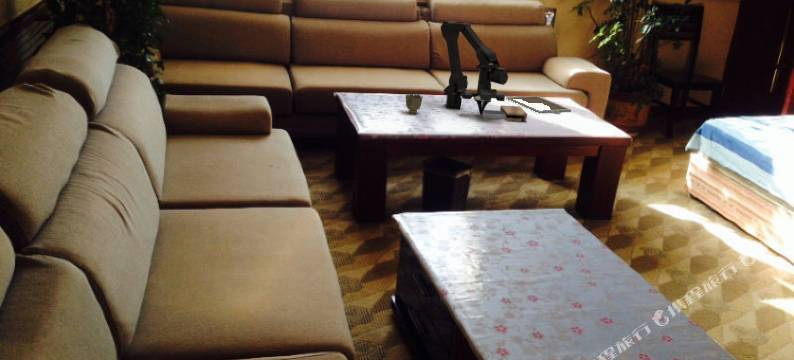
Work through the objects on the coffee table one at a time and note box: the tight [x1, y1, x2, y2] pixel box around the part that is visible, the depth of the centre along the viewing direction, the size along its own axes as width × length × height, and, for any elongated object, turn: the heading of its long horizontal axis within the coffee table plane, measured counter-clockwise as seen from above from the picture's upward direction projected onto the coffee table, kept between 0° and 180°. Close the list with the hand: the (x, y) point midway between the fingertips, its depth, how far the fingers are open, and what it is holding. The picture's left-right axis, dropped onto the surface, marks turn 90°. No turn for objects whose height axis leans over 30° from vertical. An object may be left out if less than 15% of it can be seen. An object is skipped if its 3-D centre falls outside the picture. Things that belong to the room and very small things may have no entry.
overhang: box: [499, 105, 528, 123], centre depth 291 cm, size 9×13×4 cm
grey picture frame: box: [505, 95, 572, 115], centre depth 316 cm, size 19×2×30 cm
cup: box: [405, 93, 424, 115], centre depth 285 cm, size 8×7×8 cm
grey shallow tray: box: [481, 109, 508, 120], centre depth 290 cm, size 10×8×2 cm
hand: (480, 114), depth 290 cm, fingers closed
